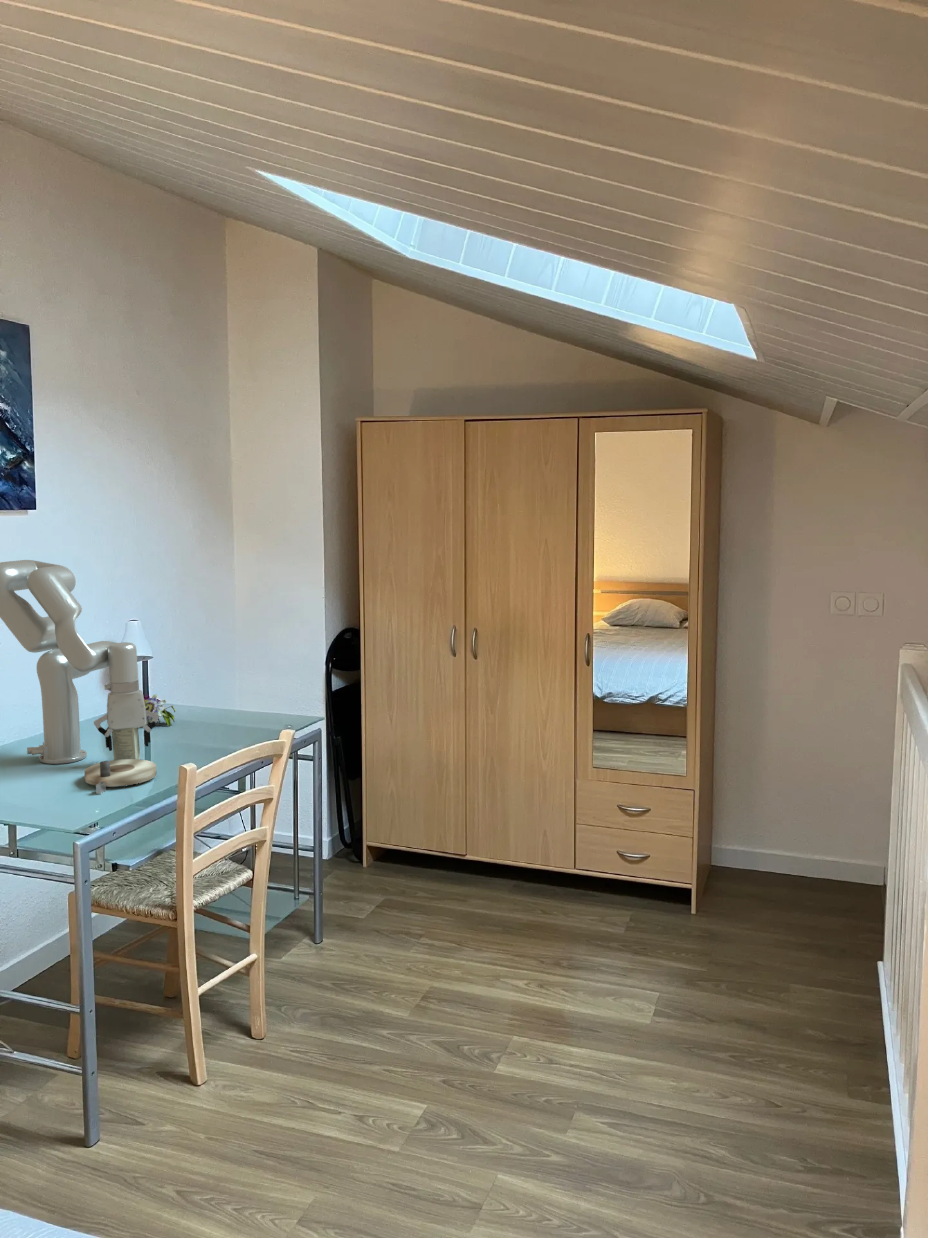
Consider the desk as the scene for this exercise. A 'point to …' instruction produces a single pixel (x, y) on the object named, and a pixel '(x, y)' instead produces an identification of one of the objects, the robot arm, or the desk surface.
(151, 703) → the passion flower
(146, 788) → the desk surface
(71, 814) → the desk surface
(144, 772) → the turntable
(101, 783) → the grey small block
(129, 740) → the skincare box
